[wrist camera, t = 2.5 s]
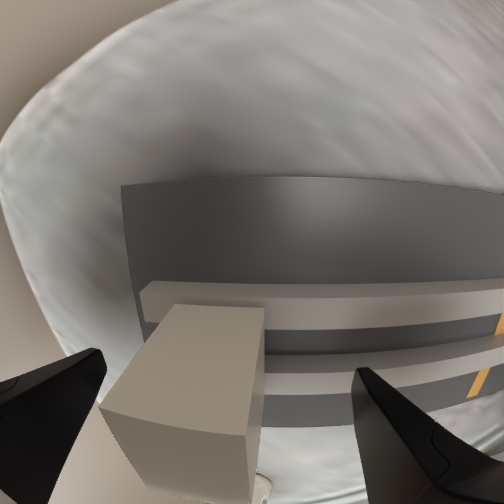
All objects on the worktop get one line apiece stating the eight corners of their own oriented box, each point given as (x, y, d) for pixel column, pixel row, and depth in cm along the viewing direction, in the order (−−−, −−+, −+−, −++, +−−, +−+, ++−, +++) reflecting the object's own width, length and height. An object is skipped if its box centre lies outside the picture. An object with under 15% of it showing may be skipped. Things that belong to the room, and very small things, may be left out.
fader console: (551, 205, 9) (583, 215, 6) (509, 366, 12) (529, 390, 9) (143, 182, 12) (103, 188, 9) (176, 392, 15) (159, 430, 12)
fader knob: (266, 293, 10) (245, 435, 4) (266, 378, 11) (251, 507, 5) (184, 290, 10) (97, 406, 4) (197, 373, 11) (149, 489, 5)
